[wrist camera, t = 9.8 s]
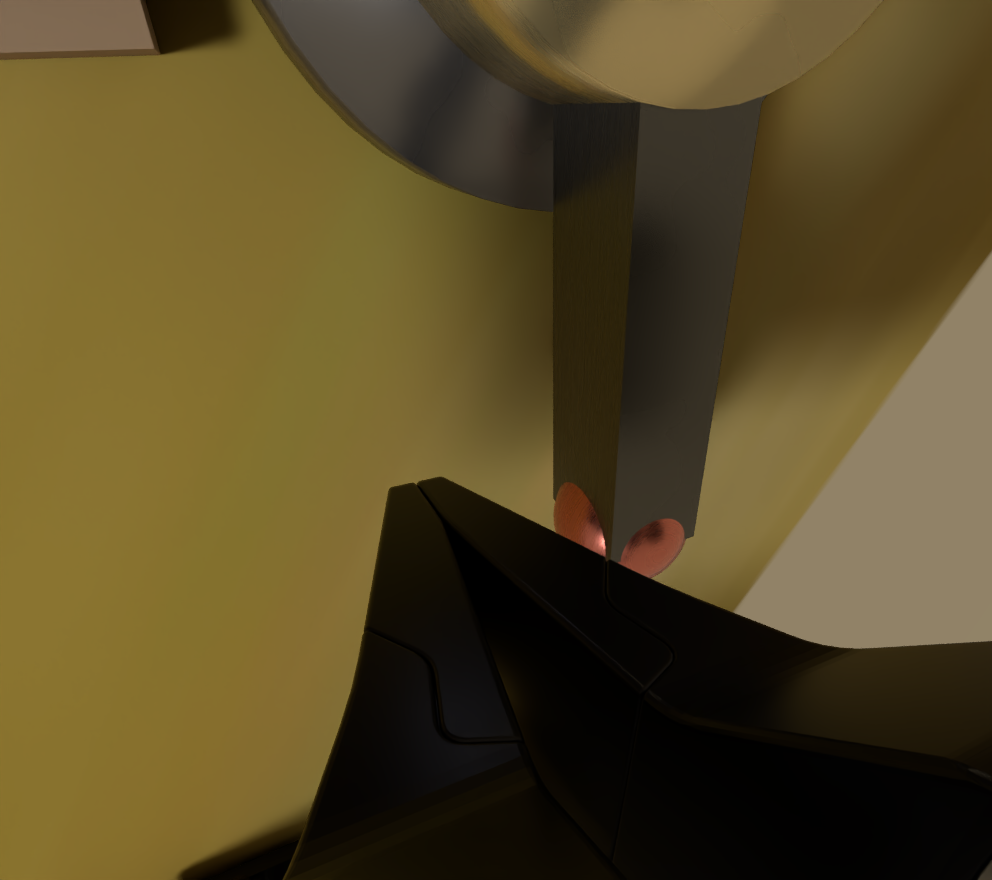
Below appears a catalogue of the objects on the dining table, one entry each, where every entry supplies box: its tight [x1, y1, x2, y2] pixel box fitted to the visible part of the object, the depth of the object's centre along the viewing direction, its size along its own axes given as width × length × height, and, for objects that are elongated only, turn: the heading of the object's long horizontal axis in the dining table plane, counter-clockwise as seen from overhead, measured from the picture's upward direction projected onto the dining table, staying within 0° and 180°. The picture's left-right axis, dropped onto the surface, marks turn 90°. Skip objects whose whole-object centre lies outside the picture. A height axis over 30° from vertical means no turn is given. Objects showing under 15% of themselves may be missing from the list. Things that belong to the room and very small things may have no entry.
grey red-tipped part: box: [418, 0, 883, 578], centre depth 8 cm, size 15×7×3 cm, turn 3°
